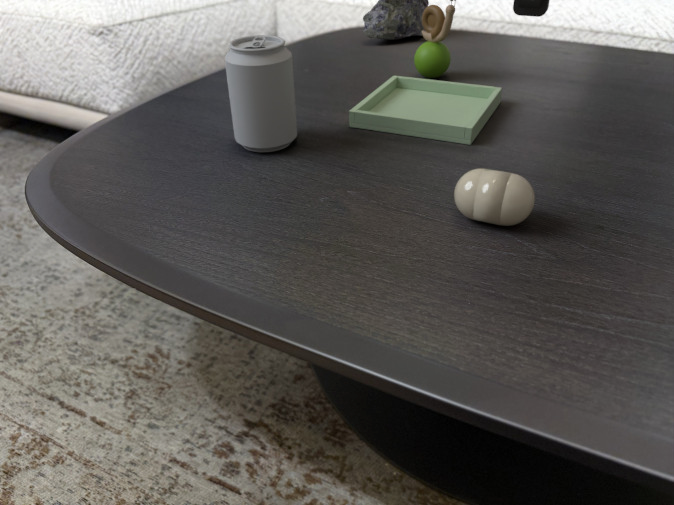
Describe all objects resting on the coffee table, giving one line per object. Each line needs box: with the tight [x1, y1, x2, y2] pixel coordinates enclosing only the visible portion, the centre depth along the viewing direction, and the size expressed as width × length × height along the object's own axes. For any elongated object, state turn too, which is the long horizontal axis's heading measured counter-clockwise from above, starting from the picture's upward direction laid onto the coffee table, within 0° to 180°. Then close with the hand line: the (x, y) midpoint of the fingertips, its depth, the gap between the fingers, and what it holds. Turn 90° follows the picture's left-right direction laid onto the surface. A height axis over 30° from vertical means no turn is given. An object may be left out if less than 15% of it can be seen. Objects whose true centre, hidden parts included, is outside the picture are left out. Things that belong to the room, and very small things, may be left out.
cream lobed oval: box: [453, 167, 536, 227], centre depth 55 cm, size 7×5×5 cm, turn 65°
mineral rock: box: [362, 0, 430, 41], centre depth 110 cm, size 13×11×10 cm
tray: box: [348, 74, 503, 146], centre depth 78 cm, size 16×16×2 cm
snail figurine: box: [413, 0, 457, 79], centre depth 88 cm, size 5×6×12 cm
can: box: [224, 34, 298, 153], centre depth 69 cm, size 8×8×12 cm
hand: (539, 2), depth 44 cm, fingers open, 8 cm apart
